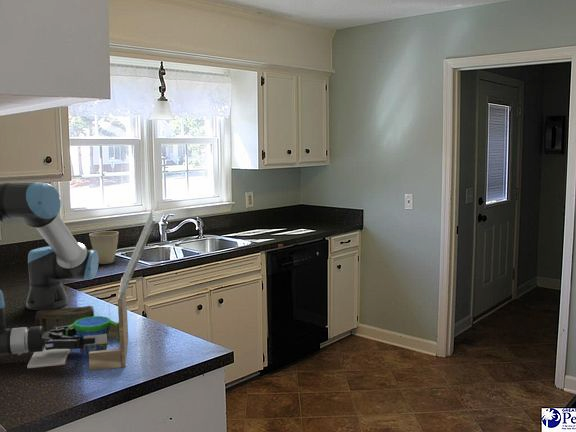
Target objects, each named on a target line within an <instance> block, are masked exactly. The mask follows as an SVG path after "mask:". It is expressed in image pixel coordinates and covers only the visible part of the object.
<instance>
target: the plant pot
mask: <svg viewBox="0 0 576 432" xmlns="http://www.w3.org/2000/svg"><path fill="white" fill-rule="evenodd" d="M89 240H90V244H91V249H92V250H95V251H97V253H98V264H100V265H106V264H112V263H114V261H115V257H116V253H117V249H118V243H119V231H113V230H104V231H103V230H102V231H95V232H91V233H89Z"/></svg>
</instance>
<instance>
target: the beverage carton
mask: <svg viewBox="0 0 576 432" xmlns="http://www.w3.org/2000/svg"><path fill="white" fill-rule="evenodd" d="M94 309H95V308H94V306H93V305H87V306H77V307H65V308H55V309H49V310H36V313H35V316H34V327H35V326H42V327H43V328H44V331H45V332H47V331H50V330H52V327H60V326H67V325H72V324H73V323H74V322H75V321H77V320H79V319H81V318H85V317H92V316H95V310H94Z"/></svg>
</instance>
